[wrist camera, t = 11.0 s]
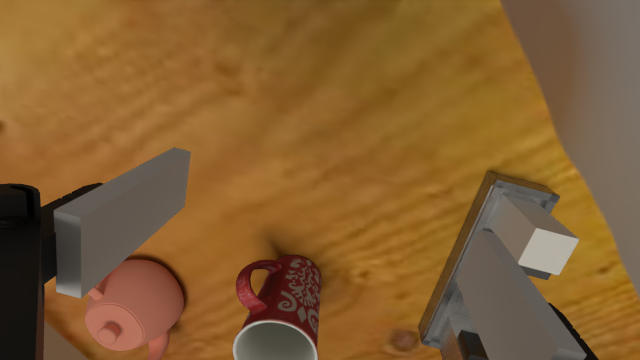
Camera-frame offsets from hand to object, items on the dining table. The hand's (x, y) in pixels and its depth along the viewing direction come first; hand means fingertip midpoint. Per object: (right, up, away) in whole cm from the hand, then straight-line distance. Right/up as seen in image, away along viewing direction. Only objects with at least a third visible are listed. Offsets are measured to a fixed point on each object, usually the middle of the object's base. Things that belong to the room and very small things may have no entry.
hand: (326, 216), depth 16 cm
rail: (+20, -9, +30) cm, 37 cm away
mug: (-4, -10, +33) cm, 35 cm away
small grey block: (+21, -2, +24) cm, 33 cm away
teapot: (-25, -15, +37) cm, 48 cm away
